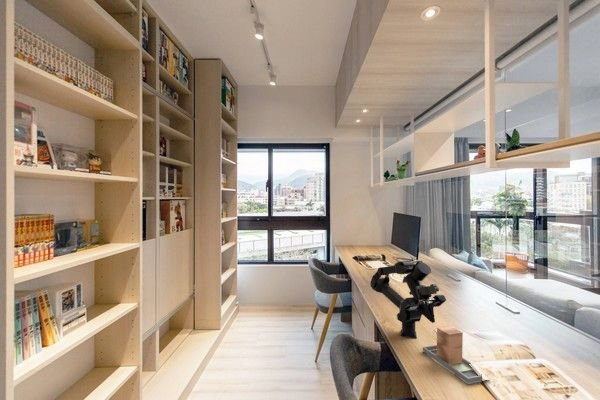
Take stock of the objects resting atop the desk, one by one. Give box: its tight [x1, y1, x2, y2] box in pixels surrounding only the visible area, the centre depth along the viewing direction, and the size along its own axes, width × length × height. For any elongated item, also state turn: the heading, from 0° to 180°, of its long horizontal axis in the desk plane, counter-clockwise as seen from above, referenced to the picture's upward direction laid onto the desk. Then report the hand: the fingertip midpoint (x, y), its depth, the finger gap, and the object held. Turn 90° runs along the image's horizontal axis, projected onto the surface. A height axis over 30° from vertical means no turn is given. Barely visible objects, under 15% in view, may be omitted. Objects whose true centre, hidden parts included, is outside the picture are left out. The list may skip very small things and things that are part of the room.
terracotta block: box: [436, 325, 463, 365], centre depth 112 cm, size 6×6×11 cm
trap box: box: [422, 344, 483, 386], centre depth 110 cm, size 22×9×2 cm, turn 17°
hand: (433, 322), depth 120 cm, fingers closed
